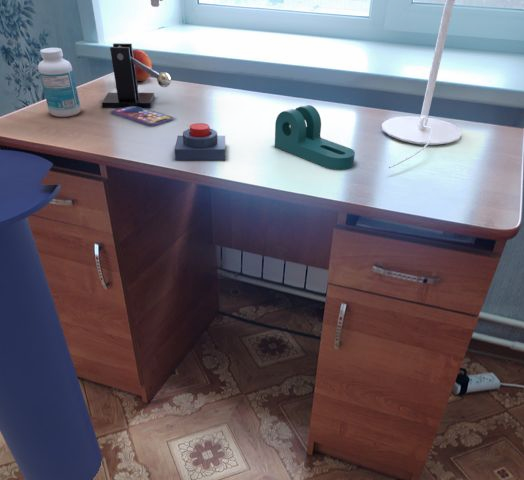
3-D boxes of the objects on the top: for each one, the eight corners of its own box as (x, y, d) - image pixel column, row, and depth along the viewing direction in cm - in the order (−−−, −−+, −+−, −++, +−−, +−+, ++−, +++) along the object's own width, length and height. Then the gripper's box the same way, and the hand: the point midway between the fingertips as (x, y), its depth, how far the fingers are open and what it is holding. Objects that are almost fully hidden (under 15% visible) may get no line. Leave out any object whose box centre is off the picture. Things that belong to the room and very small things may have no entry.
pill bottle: (61, 107, 126) (47, 45, 117) (87, 110, 124) (74, 47, 115) (43, 115, 121) (26, 51, 112) (69, 119, 119) (55, 54, 110)
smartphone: (134, 108, 128) (175, 121, 121) (110, 114, 124) (151, 128, 117) (133, 104, 127) (174, 117, 120) (110, 110, 123) (151, 124, 116)
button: (189, 138, 101) (189, 129, 100) (190, 131, 104) (190, 122, 103) (209, 138, 101) (209, 129, 100) (210, 131, 104) (209, 122, 103)
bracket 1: (154, 97, 134) (148, 42, 125) (150, 108, 127) (143, 50, 118) (108, 97, 133) (99, 41, 124) (102, 107, 126) (91, 49, 118)
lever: (167, 88, 130) (173, 75, 128) (166, 91, 127) (172, 79, 125) (115, 55, 124) (120, 42, 122) (113, 59, 122) (118, 45, 120)
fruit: (120, 81, 145) (115, 49, 140) (141, 76, 150) (137, 45, 144) (138, 86, 141) (134, 54, 136) (159, 80, 146) (156, 49, 141)
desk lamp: (381, 116, 125) (423, -134, 95) (456, 122, 123) (523, -133, 93) (378, 175, 98) (435, -151, 68) (474, 184, 95) (577, -149, 66)
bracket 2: (274, 146, 108) (275, 107, 103) (296, 139, 112) (298, 101, 107) (338, 172, 99) (343, 130, 93) (360, 163, 102) (366, 123, 97)
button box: (175, 160, 102) (173, 140, 99) (178, 146, 108) (176, 126, 105) (225, 160, 102) (224, 140, 99) (225, 146, 108) (224, 126, 105)
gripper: (142, -77, 115) (149, -3, 124) (128, -75, 99) (138, 9, 108) (170, -76, 115) (175, -3, 124) (161, -74, 100) (167, 10, 109)
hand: (157, 3), depth 116 cm, fingers open, 8 cm apart
